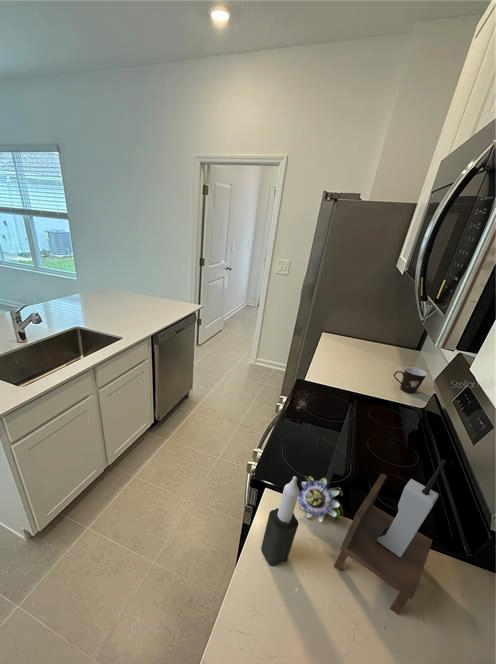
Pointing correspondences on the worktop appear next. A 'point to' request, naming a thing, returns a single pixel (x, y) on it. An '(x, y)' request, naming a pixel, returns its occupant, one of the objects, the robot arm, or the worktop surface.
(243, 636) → the worktop surface
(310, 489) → the passion flower
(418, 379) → the coffee mug
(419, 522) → the vintage mobile phone
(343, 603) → the worktop surface
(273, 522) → the candle
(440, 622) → the worktop surface
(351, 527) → the shelf
